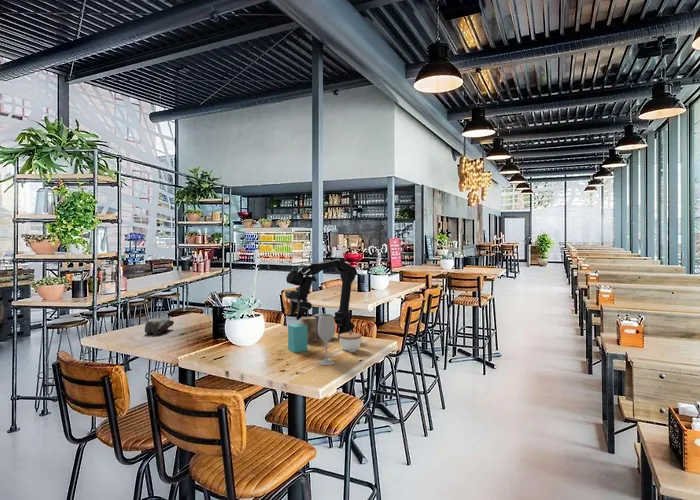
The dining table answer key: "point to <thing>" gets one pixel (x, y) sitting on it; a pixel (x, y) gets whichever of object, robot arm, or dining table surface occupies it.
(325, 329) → the wineglass
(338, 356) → the dining table surface
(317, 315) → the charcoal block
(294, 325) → the teal block
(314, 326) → the walnut block
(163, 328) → the rock
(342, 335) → the lidded jar
